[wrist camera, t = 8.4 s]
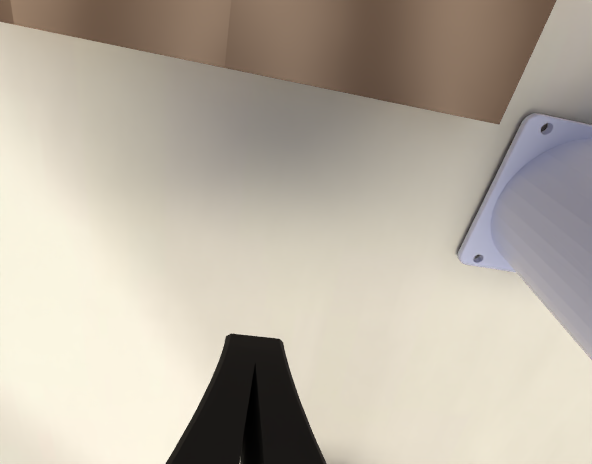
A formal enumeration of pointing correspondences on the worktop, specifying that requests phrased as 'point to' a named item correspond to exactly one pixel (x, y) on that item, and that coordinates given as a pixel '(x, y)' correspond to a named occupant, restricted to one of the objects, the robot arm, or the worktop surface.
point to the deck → (327, 42)
